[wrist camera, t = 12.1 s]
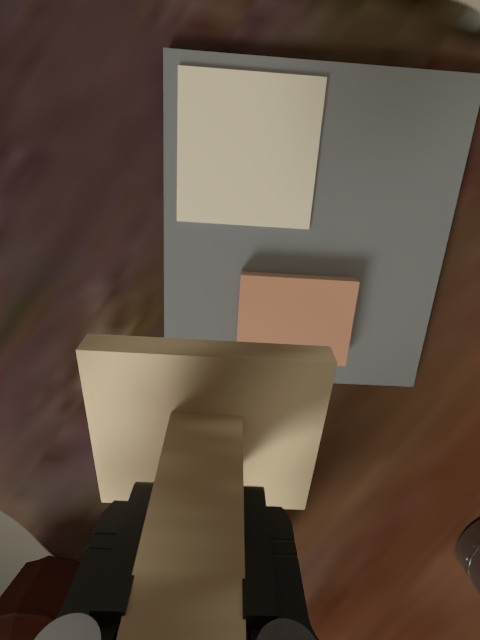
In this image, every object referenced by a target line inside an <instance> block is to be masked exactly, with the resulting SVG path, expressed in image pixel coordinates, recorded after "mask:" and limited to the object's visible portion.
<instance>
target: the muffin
mask: <svg viewBox="0 0 480 640" xmlns="http://www.w3.org/2000/svg"><path fill="white" fill-rule="evenodd" d="M79 565H80V564H79V563H78V562H77V561H76V560H69V559H61V558H57V557H53V556H47V557H45V558H42V559H39V560H36V561H32V562H27V563H26V564H25V565H24V567H23V568H22V569H21V571H20V572H19V573H18V574H17V576H16V577H15V578H14V580H13V581H12V582H11V584H10V585H9V586H8V588H7V589H6V590H5V592H4V593H3V594H2V595H1V597H0V640H34V639H35V638H36V636H37V635H38V634H39V633H40V632H41V631H42V630H43V629H44V628H45V627H46V626H47V625H48V624H49V623H51V622H52V621H54V620H55V618H56V617H57V615H58V613H59V611H60V609H61V607H62V605H63V602H64V600H65V598H66V595H67V593H68V591H69V588H70V586H71V583H72V581H73V579H74V576H75V574H76V572H77V569H78V567H79Z"/></svg>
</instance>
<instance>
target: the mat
mask: <svg viewBox="0 0 480 640" xmlns="http://www.w3.org/2000/svg"><path fill="white" fill-rule="evenodd" d="M178 65H183V66H196V67H208V68H221V69H233V70H246V71H258V72H271V73H283V74H296V75H309V76H321V77H327V82H326V91H325V99H324V108H323V116H322V125H321V133H320V142H319V150H318V159H317V167H316V176H315V184H314V192H313V201H312V209H311V218H310V226H309V229H293V228H277V227H261V226H245V225H229V224H213V223H197V222H181V221H177V101H178ZM479 106H480V74H479V73H466V72H454V71H442V70H430V69H417V68H405V67H393V66H381V65H368V64H356V63H344V62H332V61H319V60H307V59H295V58H283V57H270V56H258V55H246V54H234V53H221V52H209V51H197V50H184V49H172V48H163V109H164V338H180V339H199V340H219V341H236V333H237V317H238V301H239V285H240V271H248V272H266V273H283V274H300V275H318V276H335V277H352V278H355V279H356V280H358V281H359V282H360V284H359V290H358V296H357V302H356V308H355V314H354V320H353V326H352V332H351V338H350V343H349V349H348V355H347V361H346V366H337V368H336V373H335V377H334V382H333V383H340V384H362V385H384V386H406V387H413V385H414V381H415V377H416V373H417V369H418V364H419V360H420V356H421V352H422V347H423V343H424V339H425V335H426V330H427V326H428V322H429V318H430V313H431V309H432V305H433V301H434V296H435V292H436V288H437V284H438V280H439V275H440V271H441V267H442V263H443V258H444V254H445V250H446V246H447V241H448V237H449V233H450V229H451V224H452V220H453V216H454V212H455V207H456V203H457V199H458V195H459V190H460V186H461V182H462V178H463V174H464V169H465V165H466V161H467V157H468V152H469V148H470V144H471V140H472V135H473V131H474V127H475V123H476V118H477V114H478V110H479Z"/></svg>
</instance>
